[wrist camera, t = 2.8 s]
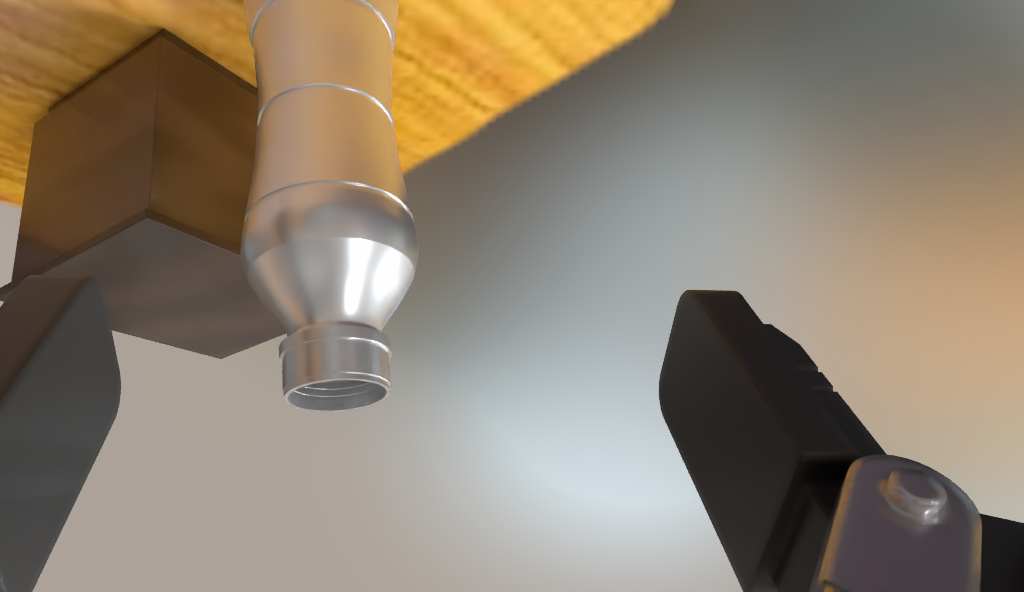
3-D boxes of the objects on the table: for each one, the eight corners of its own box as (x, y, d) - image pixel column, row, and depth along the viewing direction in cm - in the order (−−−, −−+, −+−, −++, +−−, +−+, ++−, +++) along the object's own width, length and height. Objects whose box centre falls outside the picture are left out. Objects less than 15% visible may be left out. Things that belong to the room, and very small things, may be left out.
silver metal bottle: (257, 19, 36) (255, 430, 28) (229, -109, 30) (215, 371, 22) (394, 19, 37) (429, 415, 29) (394, -104, 31) (438, 354, 23)
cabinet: (13, 115, 40) (-18, 306, 35) (160, 10, 35) (145, 217, 30) (214, 207, 50) (209, 363, 46) (350, 136, 45) (358, 305, 41)
